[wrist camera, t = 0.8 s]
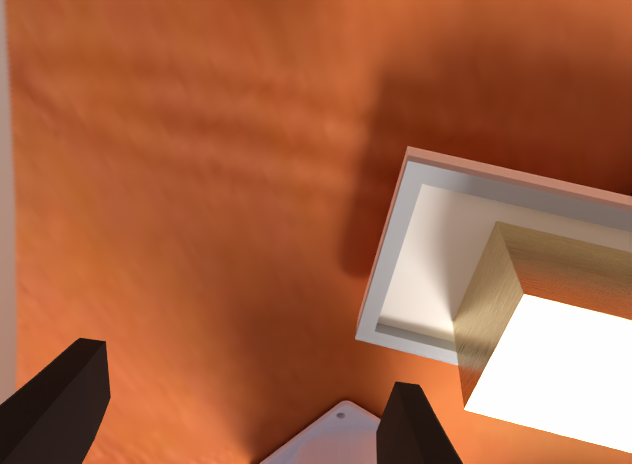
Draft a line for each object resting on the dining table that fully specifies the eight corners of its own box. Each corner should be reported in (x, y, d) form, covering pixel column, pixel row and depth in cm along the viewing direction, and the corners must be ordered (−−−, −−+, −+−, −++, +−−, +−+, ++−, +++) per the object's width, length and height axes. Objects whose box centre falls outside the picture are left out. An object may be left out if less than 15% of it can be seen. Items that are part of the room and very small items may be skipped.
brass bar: (452, 322, 19) (464, 409, 15) (496, 220, 17) (524, 294, 13) (634, 367, 19) (694, 468, 15) (708, 270, 16) (803, 361, 12)
